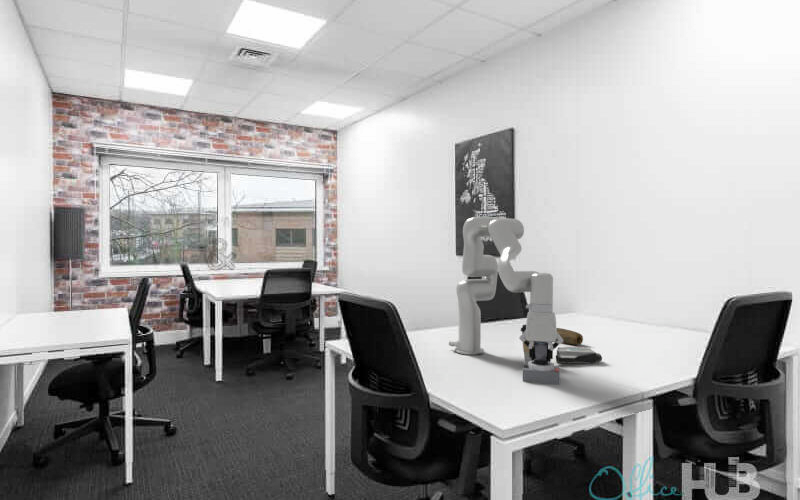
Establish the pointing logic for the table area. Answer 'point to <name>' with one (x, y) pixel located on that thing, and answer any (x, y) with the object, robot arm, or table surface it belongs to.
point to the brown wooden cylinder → (570, 336)
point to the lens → (541, 353)
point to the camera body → (541, 373)
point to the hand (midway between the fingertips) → (540, 359)
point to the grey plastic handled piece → (577, 355)
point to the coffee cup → (525, 348)
